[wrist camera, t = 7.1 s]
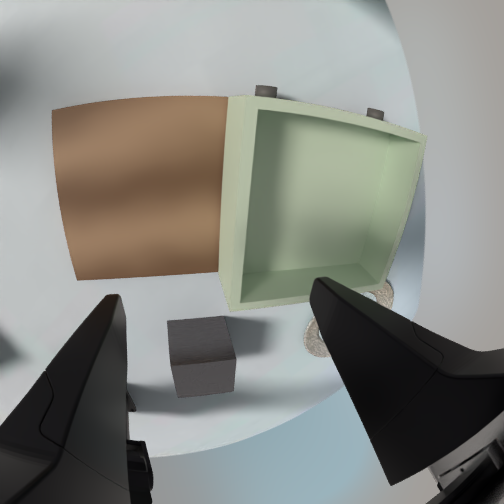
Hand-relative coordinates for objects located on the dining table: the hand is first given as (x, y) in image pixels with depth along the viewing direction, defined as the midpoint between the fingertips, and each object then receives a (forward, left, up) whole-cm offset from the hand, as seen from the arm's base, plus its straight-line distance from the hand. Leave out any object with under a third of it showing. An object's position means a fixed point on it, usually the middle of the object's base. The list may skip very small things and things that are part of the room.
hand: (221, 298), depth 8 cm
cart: (0, -8, -10) cm, 12 cm away
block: (-14, 0, -11) cm, 18 cm away
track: (0, -3, -11) cm, 11 cm away
